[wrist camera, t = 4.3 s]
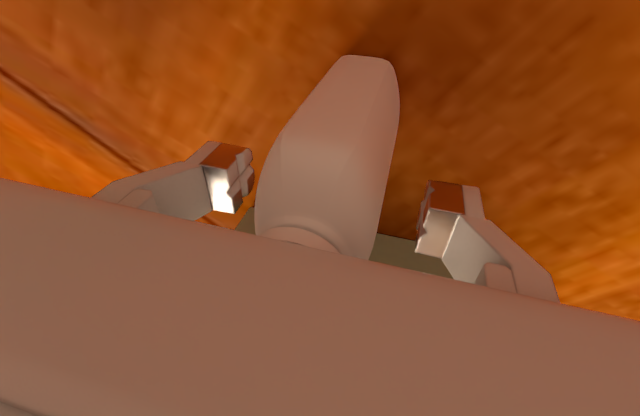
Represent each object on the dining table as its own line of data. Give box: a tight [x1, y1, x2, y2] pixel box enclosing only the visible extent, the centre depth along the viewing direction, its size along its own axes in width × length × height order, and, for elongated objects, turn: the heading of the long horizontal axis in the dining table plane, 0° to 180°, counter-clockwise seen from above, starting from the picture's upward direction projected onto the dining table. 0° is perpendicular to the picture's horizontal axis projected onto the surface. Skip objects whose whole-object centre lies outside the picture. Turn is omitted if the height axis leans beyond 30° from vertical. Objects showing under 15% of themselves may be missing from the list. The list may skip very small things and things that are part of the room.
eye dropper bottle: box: [254, 55, 400, 260], centre depth 10 cm, size 4×6×12 cm
